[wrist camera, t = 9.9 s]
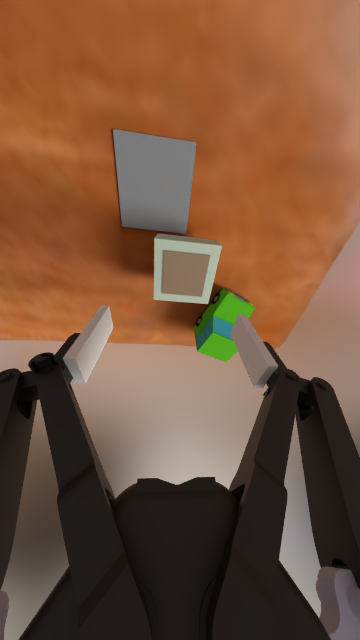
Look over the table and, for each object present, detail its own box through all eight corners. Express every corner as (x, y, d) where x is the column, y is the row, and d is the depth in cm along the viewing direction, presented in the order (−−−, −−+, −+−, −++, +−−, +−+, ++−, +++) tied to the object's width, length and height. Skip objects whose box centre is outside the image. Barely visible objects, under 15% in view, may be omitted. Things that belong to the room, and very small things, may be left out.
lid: (156, 288, 33) (153, 300, 28) (157, 233, 27) (154, 238, 23) (204, 292, 33) (208, 304, 29) (215, 240, 28) (222, 246, 23)
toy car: (252, 299, 39) (271, 324, 31) (220, 335, 46) (229, 363, 38) (218, 281, 36) (231, 303, 28) (190, 323, 43) (193, 350, 35)
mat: (122, 226, 30) (122, 226, 29) (113, 129, 23) (112, 128, 22) (186, 233, 30) (186, 233, 30) (196, 143, 24) (196, 142, 23)
